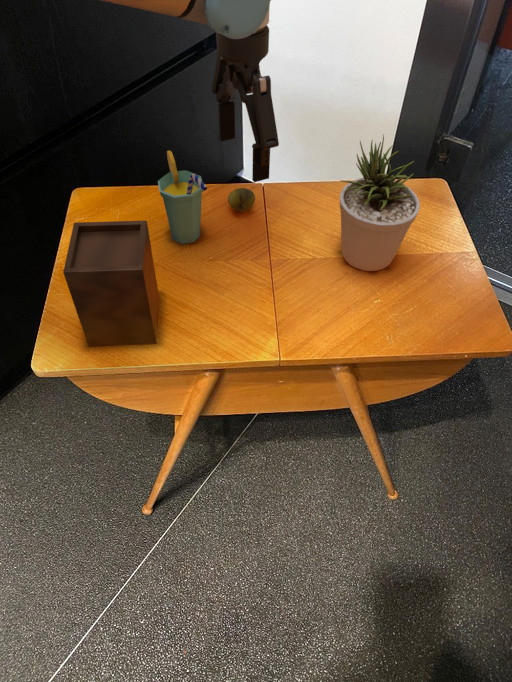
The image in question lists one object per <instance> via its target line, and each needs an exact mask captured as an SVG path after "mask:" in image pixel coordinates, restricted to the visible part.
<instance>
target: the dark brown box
mask: <svg viewBox="0 0 512 682" xmlns="http://www.w3.org/2000/svg"><path fill="white" fill-rule="evenodd" d="M70 234H71V235H70V239H69V244H68V248H67V253H66V258H65V262H64V266H63V277H64V279H65V282H66V284H67V288H68V291H69V294H70V297H71V300H72V303H73V305H74V309H75V312H76V314H77V317H78V320H79V324H80V326H81V330H82V332H83V335H84V338H85V341H86V344H87V346H88V348H89V347H111V346H112V347H115V346H137V345H156V344H157V340H158V323H159V306H160V305H159V304H160V303H159V302H160V293H159V287H158V281H157V280H158V279H157V276H156V268H155V263H154V255H153V250H152V244H151V238H150V231H149V226H148V220H116V221H115V220H114V221H83V222H82V221H81V222H80V221H79V222H78V221H77V222H76V221H75V222H73V224H72V230H71V233H70Z"/></svg>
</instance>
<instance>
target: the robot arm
mask: <svg viewBox="0 0 512 682" xmlns="http://www.w3.org/2000/svg"><path fill="white" fill-rule="evenodd" d="M100 1H102V2H106V3H110V4H115V5H120V6H124V7H128V8H134V9H137V10H141V11H147V12H151V13H156V14H159V15H160V14H161V15H165V16H169V17H173V18H178V19H182V20H185V21H190V22H194V23H199V24H203V25H206V26H209V28H210V29H211V30H212V31H213V32H215V34H216V46H217V47H216V48H217V58H216V59H217V60H216V62H215V69H214V74H213V80H212V83H211V84H212V85H211V92H212V94H213V95H215V98H216V99H215V100H216V102H217V103H218V104H217V107H218V109H217V110H218V132H219V141H220V142H226V141H229V140H233V139H236V110H235V109H236V107H235V106H236V105H235V102H234V100H236V95H235V94H236V93H237V91H238V94H239V98H240V100H241V102H242V103H243V104H245V108H246V112H247V115H248V120H249V124H250V127H251V130H252V134H253V137H254V143H252V145H251V148H252V171H251V172H252V177H251V179H252V182H254V183H257V182H261V181H265V180H268V179H270V168H271V167H270V165H271V149H273V148H276V147H279V145H280V142H279V135H278V128H277V122H276V117H275V116H276V115H275V110H274V103H273V98H272V97H273V96H272V79H271V76H270V75H264V76H263V75H262V73H261V67H260V63H261V62H262V60H263V59H265V58H266V57H267V55H268V54H269V52H270V51H269V49H270V47H269V46H270V28H269V25H268V24H269V23H270V7H271V6H270V5H271V1H272V0H100Z"/></svg>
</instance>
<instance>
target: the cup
mask: <svg viewBox="0 0 512 682" xmlns="http://www.w3.org/2000/svg"><path fill="white" fill-rule="evenodd" d="M166 158H167V162H168V167H169V172H167V173H166V174H165V175H163V176H162V177H161V178H159V180H157V185H158V190H159V194H160V197H161V198H162V200H163V205H164V209H165V213H166V217H167V222H168V226H169V230H170V235H171V240H172V241H174V242H176V243H178V244H181V245H185V244H191V243H194V242H196V241H197V240H198V239H199V238H201V225H202V223H201V221H202V220H201V219H202V200H203V199H202V198H203V197H202V195H203V193H204V192H205V191H207V189H208V187H207V185H206V184H205V183H204V182H203V179H202V176H201V175H199V174H197V173H194V172H191V171H188V170H178V169H177V165H176V164H177V163H176V160H175V157H174V155H173V152H172V150H167V151H166Z"/></svg>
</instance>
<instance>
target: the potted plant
mask: <svg viewBox="0 0 512 682" xmlns="http://www.w3.org/2000/svg"><path fill="white" fill-rule="evenodd" d="M384 135H385V134H384V133H383V134H382V141H380V142H379V144H378V147H377V142H375V144H374V148H373V139H371V141H370V150H369V152H368V154H369V160H368V158H367V156H366V154H365V152H364V148H363V145H362V142H361V140H359V146H360V150H361V154H362V156H360V157H359V155H358V153H356V159H357V162H356V163H355V164H356V166H357V168H358V171H359V172H360V174H361V176H362V177H360V178H357V179H354V180H344V179H343V180H341V179H340V182H342V183H347V184H346V185H344V186H343V187H342V189H341V191H340V193H339V209H340V246H341V254H342V255H341V256H342V258H343V259H344V260H345V262H346V263H347V264H349V265H350V266H352V267H354V268H355V269H358V270H360V271H366V272H376V271H380V270H383V269H385V268H387V267H388V266H390V264H391V263H392V262H393V260H394V258H395V257H396V255H397V252H398V251H399V249H400V247H401V246H402V245H401V244H402V243H403V241H404V239H405V237H406V235H407V233H408V232H409V229H410V227H411V225H412V224H413V223H414V221H415V220H416V219H417V216H418V215H419V212H420V209H421V203H420V199H419V198H418V196H417V194H416V193H415V191H413V190H412V189H411V188H410V187H409V186H408V185H405V182H407V181H408V180H409V179H410V178H411V177H413V175H415V174H414V173H412V174H410V175H409V176H407V174H402V173H403V172H404V171H405V170H406V169H407V168H408V167H409V166H410V165H411V164H413V163H414V162H415V160H413V161H411V162H409V163H407V164H405V165H402V166H398V167H397V168H394V169H392V167H391V164H390V161H391V160H392V158H393V156H395V155H396V154H398V153H399V152H400V150H396V151H395V152H393V153H392V154H391V155H390V156H388V155H389V152H390V151H391V149H392V148H393V146H394V144H392V145H391V146H390V147H389V148H388V149H387V150H386V152H385V153H384V152H383V149H384V143H385V142H384V141H385V136H384ZM387 156H388V158H387ZM386 168H388V172H387V173H386ZM398 170H399V171H398ZM397 171H398V172H397ZM395 172H397V173H396V174H395V175H394V173H395ZM392 174H393V175H392ZM401 174H402V175H401Z"/></svg>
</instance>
